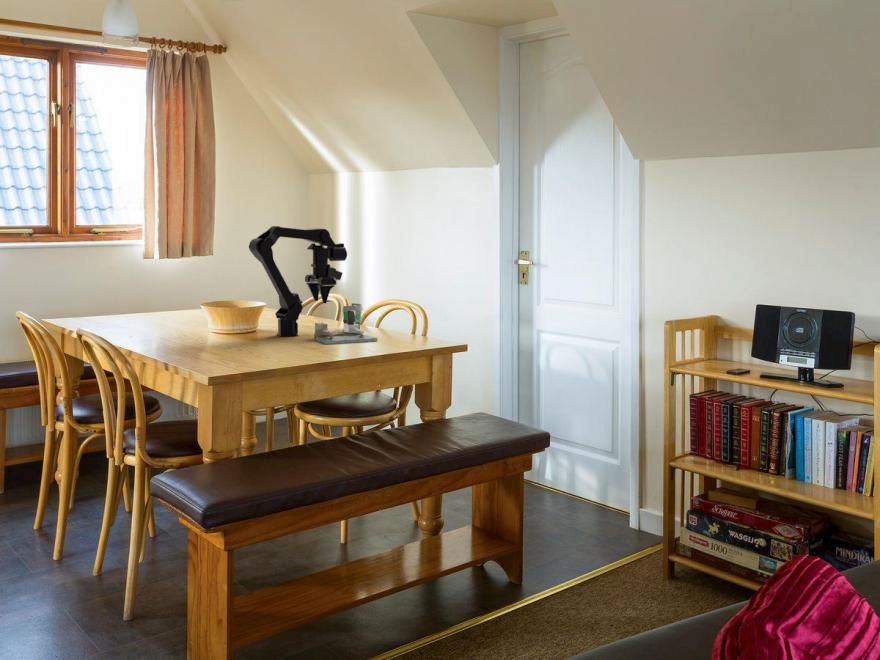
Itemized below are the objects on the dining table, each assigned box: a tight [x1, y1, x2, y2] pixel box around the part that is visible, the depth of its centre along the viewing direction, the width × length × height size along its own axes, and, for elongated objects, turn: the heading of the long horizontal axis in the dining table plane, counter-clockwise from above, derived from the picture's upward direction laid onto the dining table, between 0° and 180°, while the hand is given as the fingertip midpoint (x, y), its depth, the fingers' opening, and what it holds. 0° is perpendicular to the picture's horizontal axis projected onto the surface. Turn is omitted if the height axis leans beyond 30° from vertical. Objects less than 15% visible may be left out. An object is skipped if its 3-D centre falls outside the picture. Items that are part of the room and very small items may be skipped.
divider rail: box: [313, 322, 360, 339], centre depth 335 cm, size 18×13×6 cm
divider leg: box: [343, 310, 365, 336], centre depth 337 cm, size 4×13×8 cm, turn 28°
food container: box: [342, 303, 364, 330], centre depth 361 cm, size 12×6×10 cm, turn 168°
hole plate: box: [315, 334, 378, 345], centre depth 330 cm, size 20×10×1 cm, turn 118°
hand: (320, 302), depth 349 cm, fingers open, 9 cm apart
